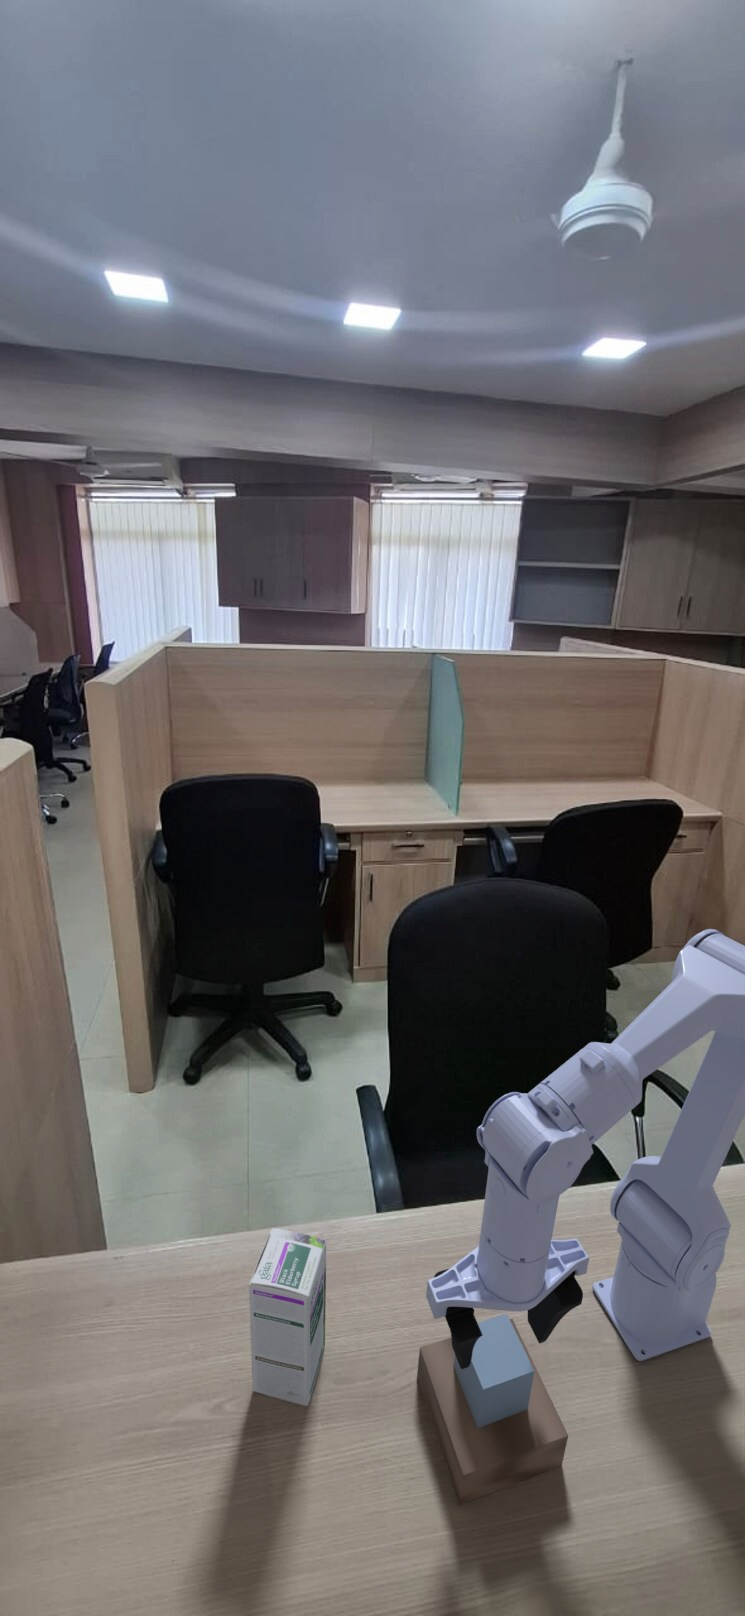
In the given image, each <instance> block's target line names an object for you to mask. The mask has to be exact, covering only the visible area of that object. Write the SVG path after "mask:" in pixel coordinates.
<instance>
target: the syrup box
mask: <svg viewBox="0 0 745 1616" xmlns="http://www.w3.org/2000/svg"><path fill="white" fill-rule="evenodd" d="M326 1281H327V1241H326V1239H323V1238H320V1237H317V1236H312V1235H310V1234H305V1233H302V1232H297V1231H293V1230H287V1229H281V1228H280V1229H279V1228H275V1227H271V1230H270V1232H269V1234H268V1237H267V1240H266V1241H265V1244H264V1247H263V1249H262V1251H261V1253H260V1254H259V1258H258V1260H257V1262H256V1265H255V1268H254V1270H253V1273H252V1275H251V1279H250V1281H249V1284H248V1288H249V1289H248V1291H249V1294H248V1295H249V1317H250V1318H249V1319H250V1321H249V1322H250V1323H249V1325H250V1326H249V1327H250V1346H251V1347H250V1348H251V1352H250V1353H251V1373H252V1375H251V1381H252V1383H251V1384H252V1391H253V1392H255V1393H259V1394H262V1395H265V1396H268V1397H270V1398H271V1397H272V1398H274V1399H275V1398H276V1399H279V1400H282V1401H284V1402H285V1401H286V1402H290V1403H293V1404H297V1405H299V1406H305V1407H308V1406H309V1405H310V1401H311V1397H312V1396H313V1395H312V1394H313V1391H314V1387H315V1385H316V1381H317V1378H318V1374H319V1369H320V1366H321V1362H322V1358H323V1354H324V1350H325V1346H326V1302H327V1301H326V1300H327V1298H326V1297H327V1295H326V1293H327V1291H326V1290H327V1286H326V1285H327V1282H326Z"/></svg>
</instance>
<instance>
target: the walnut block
mask: <svg viewBox="0 0 745 1616" xmlns="http://www.w3.org/2000/svg"><path fill="white" fill-rule="evenodd" d="M509 1319H510V1321H511V1324H512V1326H513V1328H514V1330H515V1332H516V1334H517V1336H518V1338H519V1340H520V1342H521V1344H522V1346H523V1348H524V1350H525V1352H526V1354H527V1356H528V1358H529V1360H530V1362H531V1364H532V1366H533V1369H534V1371H535V1372H534V1377H533V1383H532V1388H531V1394H530V1399H529V1405H528V1409H527V1410H524V1411H521V1412H519V1413H516V1414H514V1415H511V1416H508V1417H506V1418H503V1419H500V1420H498V1421H495V1422H492V1423H490V1424H487V1425H485V1426H482V1427H479V1428H477V1426H476V1423H475V1420H474V1418H473V1415H472V1413H471V1410H470V1408H469V1405H468V1402H467V1400H466V1397H465V1395H464V1392H463V1389H462V1387H461V1384H460V1382H459V1379H458V1377H457V1374H456V1371H455V1369H454V1359H455V1353H454V1350H453V1347H452V1339H451V1337H448V1338H444V1339H442V1340H438V1341H435V1342H432V1343H429V1344H426V1345H423V1346H420V1347H419V1350H418V1351H419V1352H418V1353H419V1354H418V1361H417V1362H418V1364H417V1370H416V1371H417V1374H416V1376H417V1380H418V1383H419V1387H420V1388H421V1392H422V1396H423V1398H424V1401H425V1405H426V1407H427V1411H428V1415H429V1417H430V1420H431V1423H432V1426H433V1429H434V1432H435V1433H434V1434H435V1435H436V1438H437V1441H438V1445H439V1448H440V1451H441V1454H442V1457H443V1460H444V1463H445V1466H446V1469H447V1472H448V1475H449V1479H450V1481H451V1482H450V1483H451V1485H452V1488H453V1491H454V1494H455V1497H456V1501H457V1503H458V1506H461V1505H464V1504H466V1503H469V1502H472V1501H474V1500H477V1499H479V1498H481V1497H484V1496H487V1495H489V1494H492V1493H495V1492H498V1491H499V1490H502V1489H505V1488H507V1487H510V1486H512V1485H515V1484H517V1483H520V1482H522V1481H524V1480H525V1481H526V1480H527V1479H530V1478H532V1477H535V1476H537V1475H538V1476H539V1475H541V1474H542V1473H545V1472H548V1471H551V1470H553V1469H555V1468H558V1467H560V1466H562V1465H563V1461H564V1456H565V1454H566V1453H565V1452H566V1447H567V1443H568V1438H569V1434H568V1432H567V1429H566V1428H565V1426H564V1424H563V1422H562V1420H561V1417H560V1415H559V1414H558V1411H557V1409H556V1407H555V1405H554V1403H553V1401H552V1398H551V1397H550V1394H549V1393H548V1390H547V1388H546V1386H545V1384H544V1382H543V1380H542V1377H541V1375H540V1374H539V1372H538V1370H537V1367H536V1365H535V1363H534V1361H533V1359H532V1356H531V1355H530V1353H529V1351H528V1349H527V1346H526V1344H525V1341H524V1340H523V1337H522V1335H521V1334H520V1332H519V1329H518V1328H517V1325H516V1323H515V1321H514V1319H513V1318H509Z"/></svg>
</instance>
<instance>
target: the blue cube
mask: <svg viewBox="0 0 745 1616" xmlns="http://www.w3.org/2000/svg"><path fill="white" fill-rule="evenodd" d="M510 1319H511V1318H509V1315H508V1314H507V1313H504V1314H499V1315H498V1316H494V1317H491V1318H488V1319H485V1320H482V1321H479V1322H477V1323H478V1325H479V1328H480V1330H481V1332H482V1335H483V1336H481V1337H480V1338H479V1339H478V1340H477V1341H476V1343H475V1345H474V1348H473V1352H472V1359H471V1363H470V1366H469V1367H468V1368H465V1369H461V1368H460V1366H459V1363H458V1360H457V1358H456V1355H455V1359H454V1369H455V1371H456V1374H457V1377H458V1379H459V1382H460V1384H461V1387H462V1389H463V1392H464V1395H465V1397H466V1400H467V1402H468V1405H469V1408H470V1410H471V1413H472V1415H473V1418H474V1420H475V1423H476V1426H477V1428H479V1427H482V1426H485V1425H487V1424H490V1423H492V1422H495V1421H498V1420H500V1419H503V1418H506V1417H508V1416H511V1415H514V1414H516V1413H519V1412H521V1411H524V1410H527V1409H528V1405H529V1399H530V1394H531V1388H532V1383H533V1377H534V1372H535V1371H534V1369H533V1366H532V1364H531V1362H530V1360H529V1358H528V1356H527V1354H526V1352H525V1350H524V1348H523V1346H522V1344H521V1342H520V1340H519V1338H518V1336H517V1334H516V1332H515V1330H514V1328H513V1326H512V1324H511V1321H510Z"/></svg>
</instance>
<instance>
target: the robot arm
mask: <svg viewBox="0 0 745 1616" xmlns="http://www.w3.org/2000/svg"><path fill="white" fill-rule="evenodd" d="M671 974H672V975H671V983H669V984H668V986H666V988H665V989H663V990H662V991H661V992H660V994H658V996H656V997H655V998H654V1000H653V1001H651V1002H650V1004H649V1005H648V1006H647V1007H645V1009H644V1010H643V1011H641V1012H640V1014H639V1015H638V1016H637V1017H636V1018H635V1019H634V1020H632V1022H631V1023H630V1024H629V1025H628V1026H627V1027H626V1028H625V1029H624V1030H623V1031H622V1032H621V1033H620V1034H619V1035H618V1036H617V1037H616V1038H615V1039H614V1040H613V1041H612V1042H611V1043H605V1042H598V1041H591V1042H589V1043H587V1044H586V1045H585V1046H584V1047H583V1048H581V1049H580V1050H579V1051H578V1052H576V1053H575V1054H574V1055H572V1057H570V1058H569V1059H568V1060H566V1061H565V1062H564V1063H563V1064H561V1065H560V1066H559V1067H558V1068H557V1069H556V1070H554V1071H553V1072H552V1073H550V1074H549V1075H548V1076H547V1077H545V1079H543V1080H542V1081H540V1082H539V1083H538V1084H537V1085H536V1086H535V1087H534V1088H532V1089H531V1090H529V1092H528V1093H525V1092H524V1093H521V1092H518V1091H512V1092H509V1093H506V1094H504V1095H502V1096H501V1097H499V1098H497V1099H496V1100H495V1101H494V1102H493V1103H492V1105H491V1106H489V1108H488V1110H487V1111H486V1113H485V1115H484V1117H483V1120H482V1122H481V1125H479V1126H478V1127H477V1128H476V1138H477V1139H476V1140H477V1142H478V1144H479V1145H480V1146H481V1147H482V1148H483V1150H485V1153H484V1154H485V1156H484V1164H485V1165H486V1166H487V1167H488V1172H487V1180H486V1187H485V1195H484V1202H483V1211H482V1217H481V1226H480V1227H481V1228H480V1232H479V1233H480V1235H479V1241H478V1246H476V1247H475V1248H474V1249H473V1250H472V1251H470V1252H469V1253H468V1254H466V1255H465V1256H464V1257H462V1258H461V1259H460V1260H459V1261H457V1262H456V1263H455V1264H454V1265H452V1266H451V1267H449V1268H447V1269H444V1270H440V1271H438V1272H436V1273H435V1275H434V1276H433V1278H429V1279H427V1284H426V1285H427V1286H426V1295H425V1297H426V1300H427V1302H428V1304H429V1305H428V1306H429V1307H430V1311H431V1312H432V1315H433V1319H434V1320H438V1319H442V1318H444V1317H445V1320H446V1323H447V1326H448V1328H449V1331H450V1335H451V1336H450V1338H451V1339H452V1347H453V1350H454V1353H455V1355H456V1358H457V1360H458V1363H459V1366H460V1368H461V1369H465V1368H468V1367H469V1366H470V1363H471V1359H472V1352H473V1348H474V1345H475V1343H476V1341H477V1340H478V1339H479V1338H480V1337H481V1336H483V1335H482V1332H481V1330H480V1328H479V1325H478V1322H477V1318H476V1317H475V1309H483V1310H484V1309H485V1310H494V1311H506V1312H525V1311H527V1322H528V1325H529V1327H530V1328H531V1330H532V1332H533V1335H534V1336H535V1338H536V1340H537V1342H538V1344H539V1345H540V1344H542V1343H545V1342H546V1341H547V1340H548V1339H549V1337H550V1335H551V1334H552V1332H553V1331H554V1330H555V1328H556V1327H557V1325H558V1324H559V1323H560V1321H561V1320H562V1319H563V1318H564V1317H565V1316H566V1315H567V1314H568V1313H569V1312H570V1311H572V1310H573V1309H575V1308H576V1307H578V1306H580V1305H582V1303H583V1298H584V1293H583V1289H582V1287H581V1286H580V1284H579V1282H578V1280H577V1279H576V1276H578V1277H580V1276H583V1275H587V1271H588V1266H589V1262H590V1256H589V1255H588V1253H587V1252H586V1250H585V1249H584V1247H583V1246H582V1244H581V1242H580V1241H579V1239H578V1238H577V1237H575V1238H569V1239H553V1233H554V1228H555V1227H554V1226H555V1222H556V1216H557V1212H558V1211H557V1210H558V1207H559V1206H558V1205H559V1200H560V1196H562V1195H563V1194H564V1193H565V1192H566V1191H568V1190H569V1189H570V1188H571V1186H572V1185H573V1184H574V1182H575V1181H576V1180H577V1178H578V1177H579V1175H580V1173H581V1171H582V1168H583V1167H584V1165H585V1164H586V1163H587V1162H588V1161H589V1160H590V1159H591V1156H592V1155H594V1149H593V1147H592V1145H594V1143H596V1142H597V1141H598V1140H600V1139H601V1138H602V1136H603V1135H605V1134H606V1133H607V1132H608V1131H609V1130H611V1129H612V1128H613V1127H614V1126H615V1125H616V1124H618V1123H619V1122H620V1121H622V1119H623V1118H624V1117H626V1116H627V1115H628V1114H629V1113H630V1112H631V1111H632V1110H633V1109H635V1108H636V1107H637V1106H638V1105H639V1104H640V1103H641V1102H642V1099H643V1080H644V1079H645V1078H647V1077H648V1076H649V1075H651V1074H653V1073H654V1072H655V1071H657V1070H658V1069H659V1068H661V1067H662V1066H664V1065H665V1064H667V1063H668V1062H669V1061H671V1060H672V1059H674V1058H675V1057H676V1056H678V1055H679V1054H681V1053H682V1052H685V1050H686V1049H688V1048H690V1047H691V1046H693V1045H694V1044H695V1043H697V1042H698V1041H699V1040H700V1039H702V1038H704V1037H705V1036H706V1035H708V1034H709V1033H711V1032H712V1031H713V1032H714V1034H713V1036H712V1038H711V1041H710V1043H709V1045H708V1047H707V1050H706V1052H705V1054H704V1057H703V1058H702V1060H701V1061H702V1062H701V1064H700V1066H699V1068H698V1071H697V1072H696V1075H695V1078H694V1080H693V1082H692V1085H691V1086H690V1089H689V1092H688V1094H687V1096H686V1098H685V1101H684V1103H683V1105H682V1108H681V1110H680V1113H679V1115H678V1117H677V1119H676V1122H675V1124H674V1126H673V1129H672V1130H671V1132H670V1133H671V1134H670V1136H669V1138H668V1140H667V1142H666V1145H665V1147H664V1149H663V1151H662V1153H661V1155H660V1156H658V1155H650V1156H644V1157H641V1158H639V1159H637V1160H635V1161H633V1162H632V1163H631V1165H630V1167H629V1168H628V1170H627V1172H626V1173H625V1175H624V1176H623V1178H622V1179H621V1180H620V1181H619V1182H618V1183H617V1185H616V1186H615V1188H614V1189H613V1192H612V1194H611V1198H610V1205H609V1207H610V1208H609V1210H610V1211H609V1212H610V1214H611V1216H612V1217H613V1219H615V1220H616V1221H617V1222H618V1223H617V1224H618V1225H617V1229H616V1232H617V1233H618V1234H619V1236H620V1237H621V1242H620V1245H619V1251H618V1255H617V1261H616V1265H615V1269H614V1273H613V1276H612V1277H609V1278H605V1279H602V1280H599V1281H595V1282H593V1283H592V1285H591V1286H592V1290H593V1292H594V1293H595V1295H596V1297H597V1299H598V1300H599V1301H600V1302H599V1303H601V1305H602V1307H603V1308H604V1310H605V1312H606V1314H608V1316H609V1318H610V1319H611V1321H612V1322H613V1325H614V1326H615V1328H616V1330H617V1331H618V1333H619V1334H620V1336H621V1338H622V1339H623V1341H624V1342H625V1344H626V1346H627V1347H628V1350H629V1351H630V1353H632V1356H633V1357H634V1358H635V1360H637V1361H639V1362H643V1361H645V1360H649V1359H651V1358H655V1357H657V1356H660V1355H663V1354H666V1353H667V1352H670V1351H674V1350H677V1349H680V1348H682V1347H685V1346H687V1345H690V1344H691V1345H692V1344H694V1343H696V1342H699V1341H702V1340H705V1339H708V1338H710V1337H711V1335H712V1330H711V1328H710V1327H709V1325H707V1323H706V1322H707V1319H708V1316H709V1313H710V1308H711V1306H712V1305H711V1304H712V1301H713V1297H714V1294H715V1292H716V1288H717V1273H718V1271H719V1269H720V1267H721V1266H722V1264H723V1261H724V1259H725V1254H726V1251H725V1250H726V1249H725V1248H726V1244H727V1241H728V1237H729V1235H730V1229H731V1228H732V1224H731V1222H730V1218H728V1215H727V1213H726V1211H725V1209H724V1207H723V1205H722V1203H721V1200H720V1198H719V1197H718V1195H717V1192H716V1190H715V1187H714V1184H715V1182H716V1179H717V1177H718V1175H719V1173H720V1171H721V1168H722V1166H723V1164H724V1162H725V1160H726V1158H727V1155H728V1153H729V1151H730V1149H731V1146H732V1144H733V1142H734V1139H735V1137H736V1135H737V1132H738V1131H739V1129H740V1126H741V1124H742V1122H743V1120H744V1117H745V945H744V944H742V943H740V942H738V941H735V940H733V939H732V938H730V937H728V936H726V935H724V933H722V932H720V931H719V930H717V929H715V928H714V929H713V928H707V929H704V930H702V931H701V932H698V933H696V934H695V935H694V936H693V937H691V938H690V939H688V941H687V943H686V944H685V945H684V947H683V948H682V949H681V950H680V951H679V952H678V955H677V957H676V960H675V962H674V966H673V969H672V973H671ZM643 1353H644V1354H643Z"/></svg>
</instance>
